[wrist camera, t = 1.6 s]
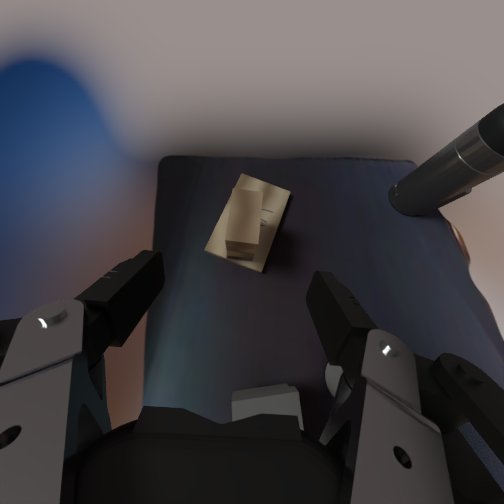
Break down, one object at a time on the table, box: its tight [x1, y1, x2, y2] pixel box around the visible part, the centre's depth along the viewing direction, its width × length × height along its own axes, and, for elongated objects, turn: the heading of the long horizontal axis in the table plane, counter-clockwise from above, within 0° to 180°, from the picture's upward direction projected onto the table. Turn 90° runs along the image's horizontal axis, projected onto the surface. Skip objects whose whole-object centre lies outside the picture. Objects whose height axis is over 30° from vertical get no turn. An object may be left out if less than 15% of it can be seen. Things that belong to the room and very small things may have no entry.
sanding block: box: [225, 188, 263, 261], centre depth 31 cm, size 5×9×10 cm, turn 174°
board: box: [205, 174, 290, 273], centre depth 38 cm, size 12×20×1 cm, turn 159°
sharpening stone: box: [232, 383, 304, 431], centre depth 22 cm, size 25×8×11 cm, turn 5°
